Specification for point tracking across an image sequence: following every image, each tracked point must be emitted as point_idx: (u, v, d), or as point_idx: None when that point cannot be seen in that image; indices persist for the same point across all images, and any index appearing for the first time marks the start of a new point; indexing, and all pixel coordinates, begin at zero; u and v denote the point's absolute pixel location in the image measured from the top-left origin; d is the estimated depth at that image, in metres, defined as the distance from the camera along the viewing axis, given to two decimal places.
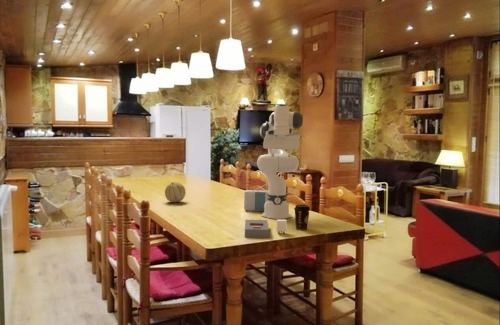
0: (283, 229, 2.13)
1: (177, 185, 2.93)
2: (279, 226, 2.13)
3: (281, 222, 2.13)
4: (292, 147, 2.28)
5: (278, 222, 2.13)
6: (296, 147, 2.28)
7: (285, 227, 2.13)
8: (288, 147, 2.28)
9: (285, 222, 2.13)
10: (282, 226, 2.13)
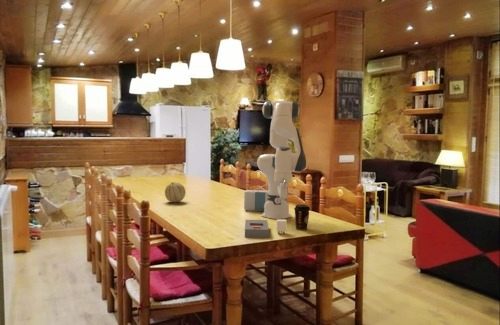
0: (283, 229, 2.13)
1: (177, 185, 2.93)
2: (279, 226, 2.13)
3: (281, 222, 2.13)
4: None
5: (278, 222, 2.13)
6: (280, 196, 2.05)
7: (285, 227, 2.13)
8: (279, 195, 2.09)
9: (285, 222, 2.13)
10: (282, 226, 2.13)
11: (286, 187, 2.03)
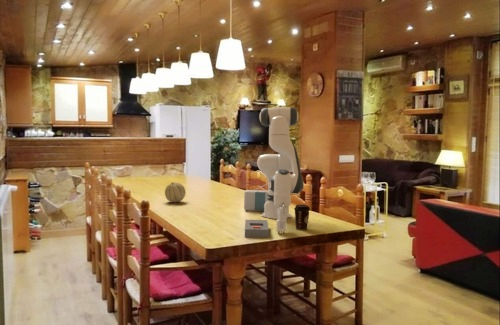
0: (283, 229, 2.13)
1: (177, 185, 2.93)
2: (279, 226, 2.13)
3: None
4: None
5: (278, 222, 2.13)
6: (279, 220, 2.06)
7: (285, 227, 2.13)
8: None
9: None
10: None
11: (285, 211, 2.05)
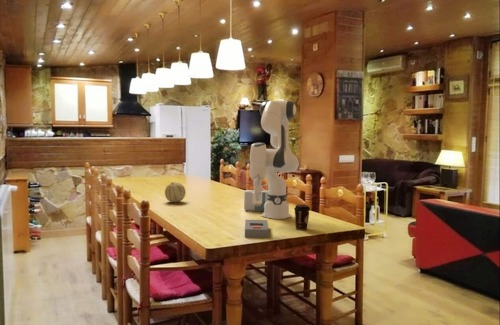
0: (259, 201, 2.14)
1: (177, 185, 2.93)
2: (255, 198, 2.14)
3: None
4: None
5: (254, 194, 2.14)
6: (254, 191, 2.07)
7: (261, 199, 2.14)
8: None
9: (261, 194, 2.14)
10: None
11: (260, 182, 2.05)
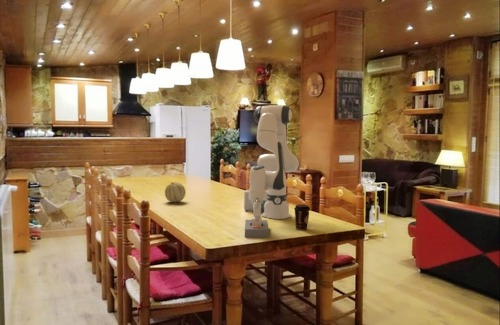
0: None
1: (177, 185, 2.93)
2: (254, 224, 2.15)
3: None
4: None
5: (253, 220, 2.15)
6: None
7: (260, 225, 2.15)
8: (253, 213, 2.12)
9: (260, 220, 2.15)
10: None
11: (259, 206, 2.06)
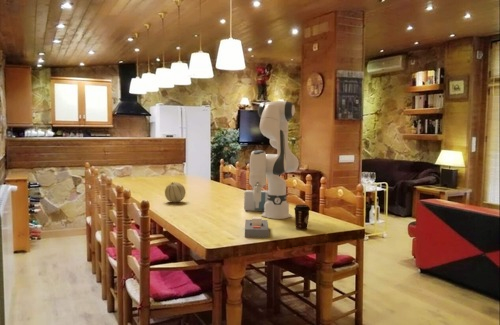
0: None
1: (177, 185, 2.93)
2: (254, 224, 2.15)
3: (256, 220, 2.15)
4: None
5: (253, 220, 2.15)
6: None
7: (260, 225, 2.15)
8: None
9: (260, 220, 2.15)
10: (257, 224, 2.15)
11: (260, 190, 2.06)
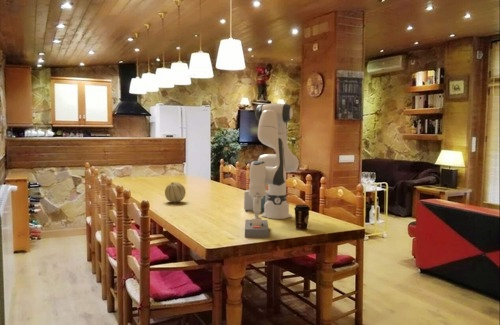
0: None
1: (177, 185, 2.93)
2: (254, 224, 2.15)
3: (256, 220, 2.15)
4: None
5: (253, 220, 2.15)
6: None
7: (260, 225, 2.15)
8: None
9: (260, 220, 2.15)
10: (257, 224, 2.15)
11: (259, 201, 2.06)
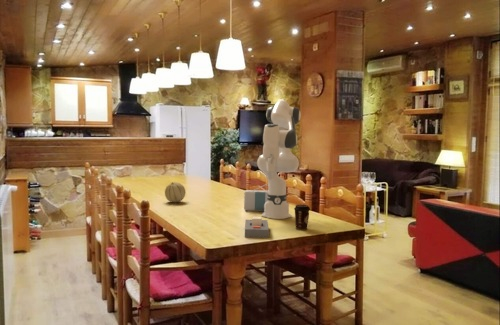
0: None
1: (177, 185, 2.93)
2: (254, 224, 2.15)
3: (256, 220, 2.15)
4: None
5: (253, 220, 2.15)
6: (267, 170, 2.13)
7: (260, 225, 2.15)
8: (267, 170, 2.17)
9: (260, 220, 2.15)
10: (257, 224, 2.15)
11: (273, 162, 2.12)
